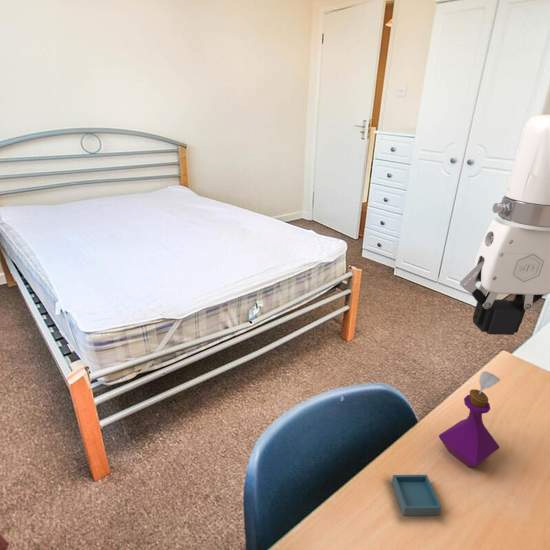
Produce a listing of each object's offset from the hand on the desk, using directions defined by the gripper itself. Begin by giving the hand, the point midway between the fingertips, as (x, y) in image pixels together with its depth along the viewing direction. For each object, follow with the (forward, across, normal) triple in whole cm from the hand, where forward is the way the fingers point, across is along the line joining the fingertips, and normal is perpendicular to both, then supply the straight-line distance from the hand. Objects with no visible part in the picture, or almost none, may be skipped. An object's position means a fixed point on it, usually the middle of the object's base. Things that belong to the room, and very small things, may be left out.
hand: (494, 326), depth 59 cm
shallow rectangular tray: (+28, -10, -9) cm, 31 cm away
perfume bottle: (+28, +2, 0) cm, 28 cm away
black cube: (0, 0, 0) cm, 0 cm away
